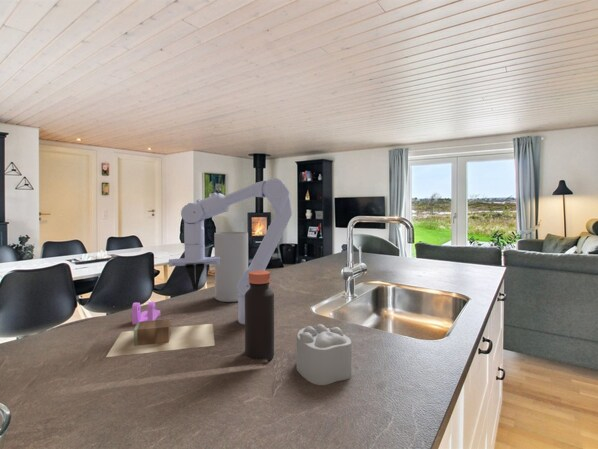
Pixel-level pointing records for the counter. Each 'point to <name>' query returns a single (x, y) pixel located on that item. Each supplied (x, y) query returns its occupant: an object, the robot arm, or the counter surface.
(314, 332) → the lumpy-topped squat cylinder
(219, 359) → the counter surface
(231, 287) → the cylinder vase
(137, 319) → the bracket
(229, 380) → the counter surface
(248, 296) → the bottle
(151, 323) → the walnut block
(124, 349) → the birch board
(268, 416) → the counter surface
